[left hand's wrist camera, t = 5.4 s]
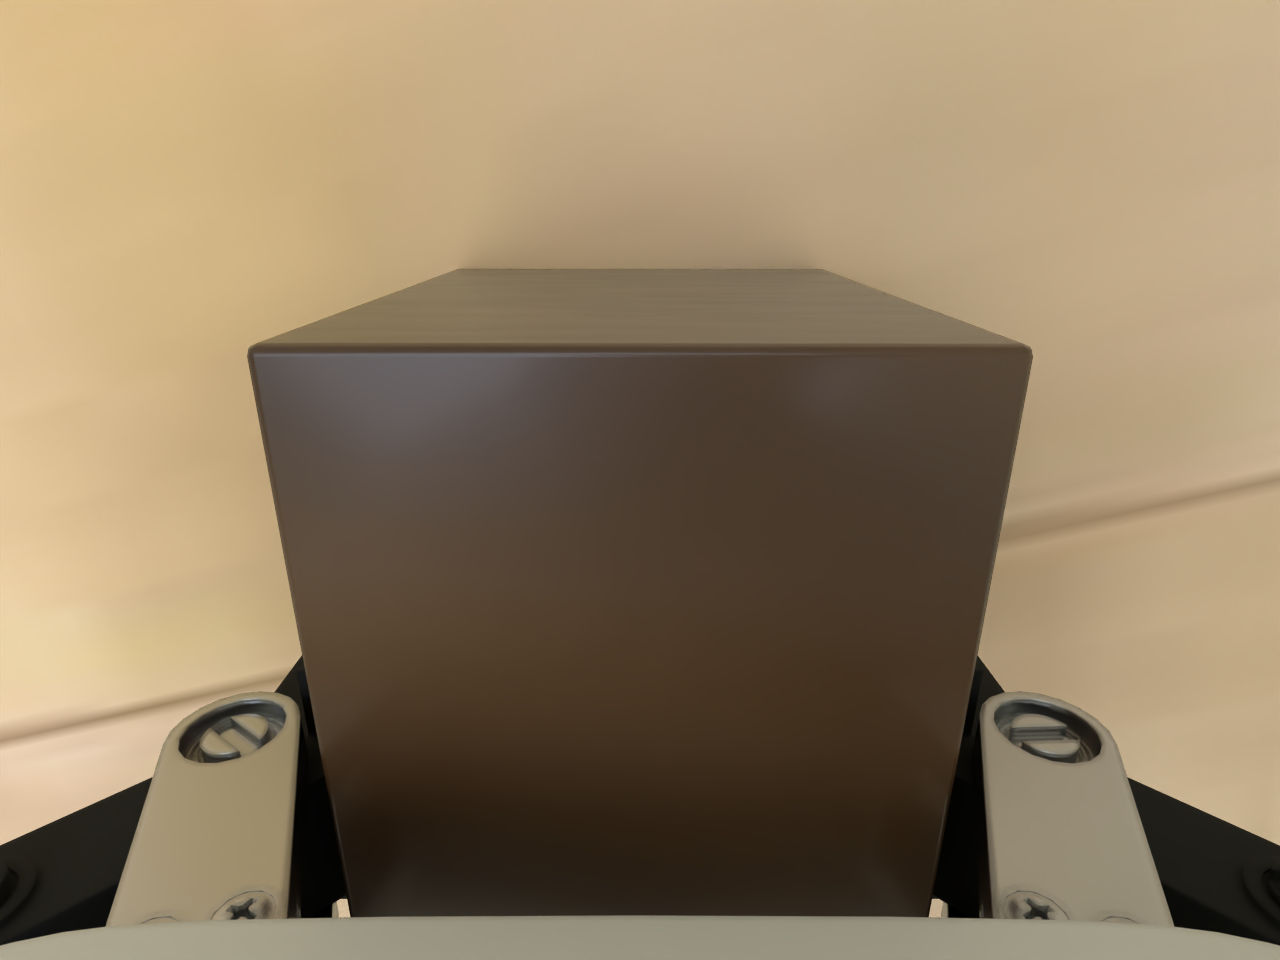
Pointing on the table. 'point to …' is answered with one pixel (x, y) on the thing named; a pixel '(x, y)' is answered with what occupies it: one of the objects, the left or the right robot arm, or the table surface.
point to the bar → (639, 585)
